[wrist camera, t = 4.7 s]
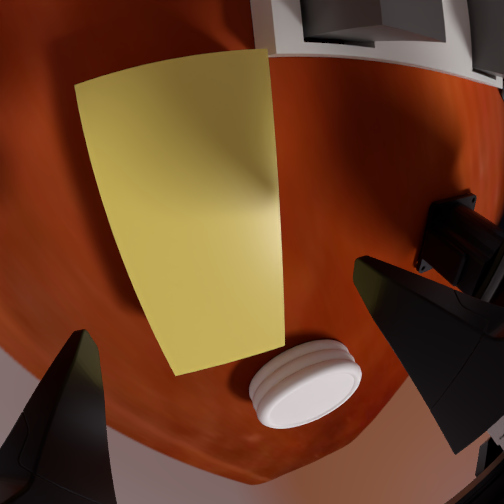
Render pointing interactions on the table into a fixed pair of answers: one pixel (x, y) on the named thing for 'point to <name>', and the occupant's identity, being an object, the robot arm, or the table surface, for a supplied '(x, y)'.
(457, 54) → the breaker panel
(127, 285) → the table surface
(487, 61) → the block
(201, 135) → the pale yellow pad
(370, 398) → the table surface
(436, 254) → the robot arm
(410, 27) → the block
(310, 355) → the coaster
